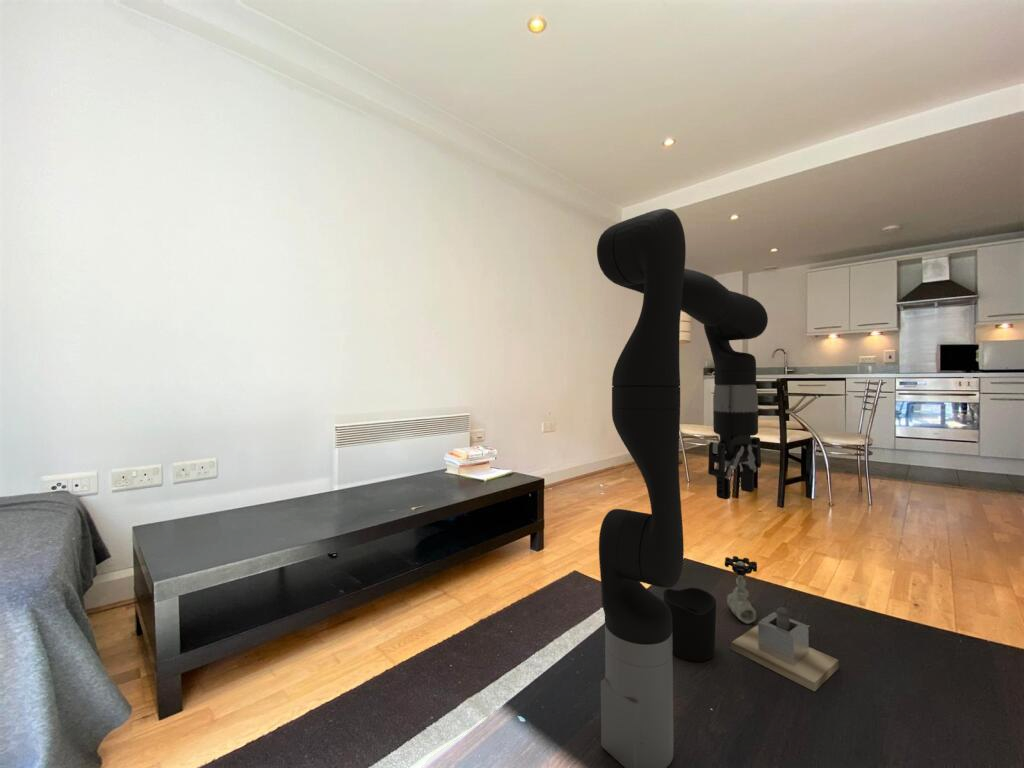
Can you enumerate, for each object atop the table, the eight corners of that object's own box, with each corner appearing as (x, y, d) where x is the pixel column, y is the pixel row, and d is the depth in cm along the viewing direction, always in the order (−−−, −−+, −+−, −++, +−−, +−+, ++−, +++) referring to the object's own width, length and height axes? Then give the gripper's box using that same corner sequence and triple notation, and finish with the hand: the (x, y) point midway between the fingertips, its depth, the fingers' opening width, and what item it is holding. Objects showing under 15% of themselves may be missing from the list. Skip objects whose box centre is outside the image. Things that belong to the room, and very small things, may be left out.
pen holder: (709, 671, 79) (709, 615, 78) (657, 652, 84) (656, 600, 84) (721, 645, 86) (721, 594, 86) (672, 629, 92) (672, 581, 92)
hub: (793, 665, 77) (793, 637, 77) (758, 648, 82) (758, 622, 82) (808, 652, 81) (808, 625, 81) (773, 637, 86) (773, 611, 86)
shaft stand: (814, 691, 73) (814, 634, 73) (731, 649, 85) (731, 600, 84) (838, 668, 79) (838, 615, 79) (757, 631, 90) (757, 585, 90)
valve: (750, 609, 99) (750, 556, 99) (764, 625, 92) (763, 569, 92) (719, 608, 100) (719, 555, 99) (731, 624, 93) (730, 568, 93)
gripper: (734, 412, 76) (735, 506, 76) (774, 408, 84) (775, 492, 84) (694, 409, 82) (695, 496, 82) (735, 406, 90) (736, 485, 90)
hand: (735, 494), depth 83 cm, fingers open, 8 cm apart
